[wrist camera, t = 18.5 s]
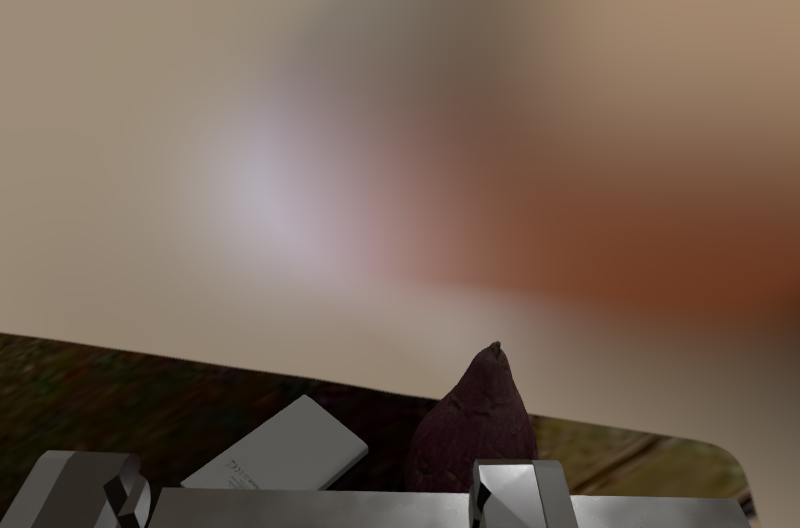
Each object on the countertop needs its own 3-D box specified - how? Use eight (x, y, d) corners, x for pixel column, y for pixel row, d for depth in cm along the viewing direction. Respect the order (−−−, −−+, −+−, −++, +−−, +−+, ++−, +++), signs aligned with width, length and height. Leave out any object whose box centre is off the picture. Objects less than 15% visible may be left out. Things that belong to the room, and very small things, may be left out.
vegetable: (434, 448, 53) (442, 296, 49) (547, 486, 49) (569, 322, 44) (378, 525, 45) (381, 348, 40) (511, 579, 40) (533, 387, 35)
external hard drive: (368, 457, 49) (244, 564, 42) (305, 404, 54) (182, 492, 46) (368, 445, 49) (241, 551, 41) (303, 392, 53) (178, 480, 45)
